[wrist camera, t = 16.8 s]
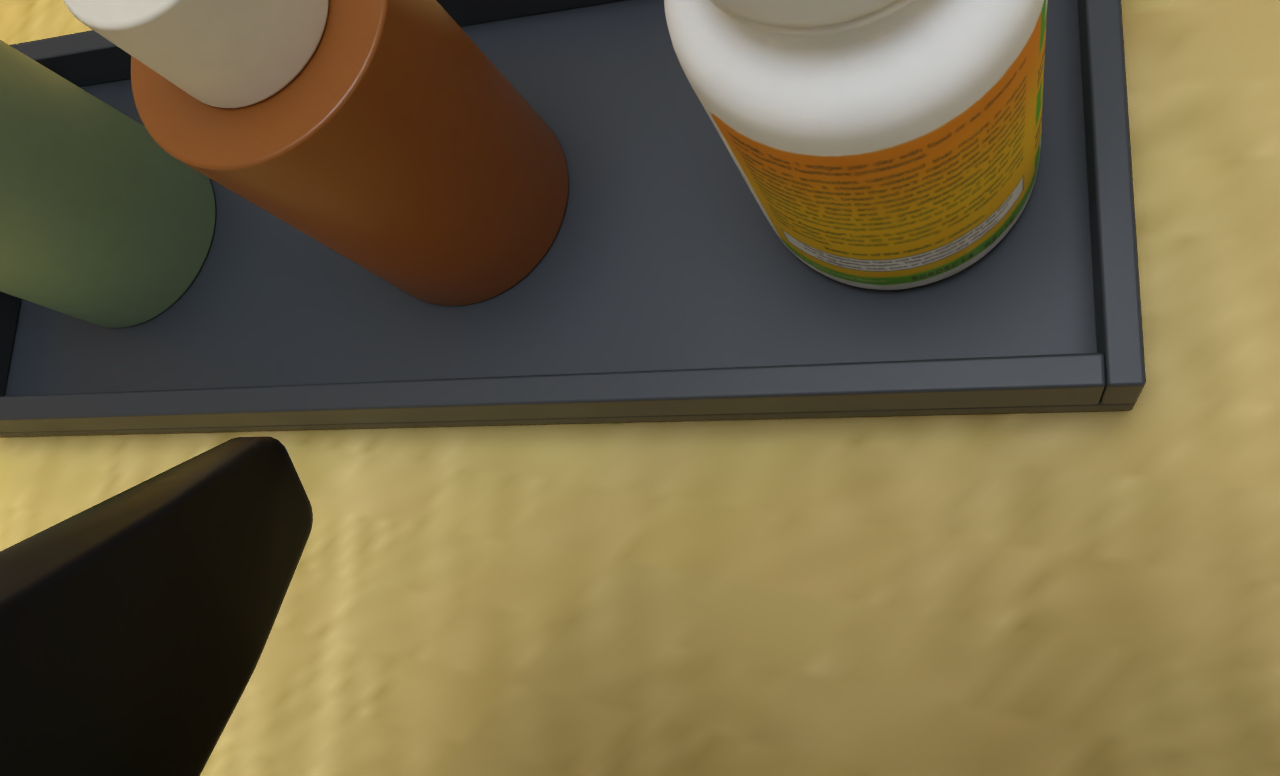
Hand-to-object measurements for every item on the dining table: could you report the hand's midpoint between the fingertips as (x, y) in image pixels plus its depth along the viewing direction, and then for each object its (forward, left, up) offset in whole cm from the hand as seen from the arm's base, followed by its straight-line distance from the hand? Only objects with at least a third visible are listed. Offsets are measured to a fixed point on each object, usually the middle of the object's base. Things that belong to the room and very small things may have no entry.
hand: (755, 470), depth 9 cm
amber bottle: (-5, +11, -12) cm, 17 cm away
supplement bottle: (+3, +7, -12) cm, 14 cm away
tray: (-5, +11, -12) cm, 17 cm away
